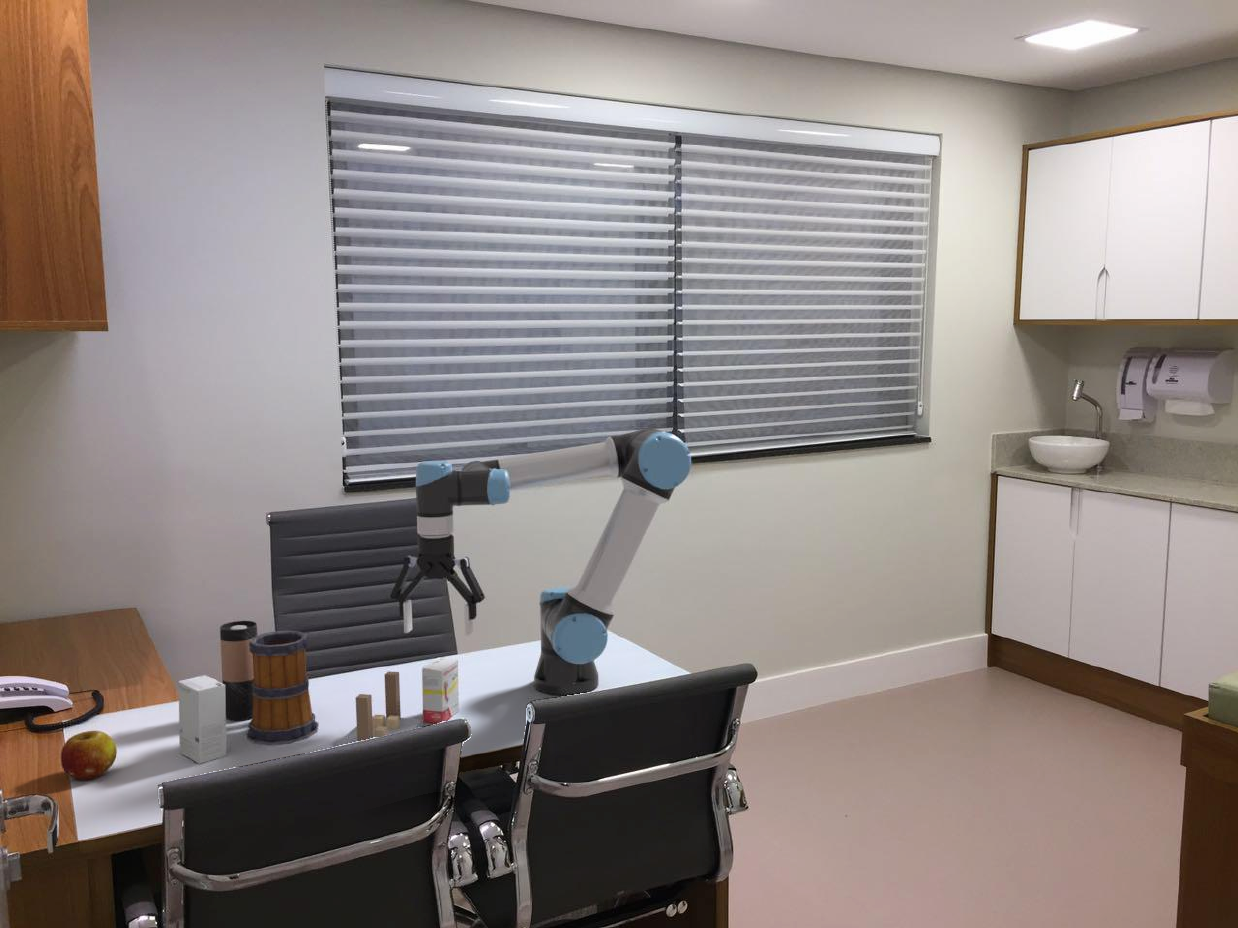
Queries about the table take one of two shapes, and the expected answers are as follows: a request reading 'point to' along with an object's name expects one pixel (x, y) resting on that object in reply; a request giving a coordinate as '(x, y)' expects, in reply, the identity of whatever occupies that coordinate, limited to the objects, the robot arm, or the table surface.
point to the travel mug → (238, 668)
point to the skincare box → (202, 718)
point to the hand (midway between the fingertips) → (438, 632)
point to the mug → (280, 689)
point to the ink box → (440, 690)
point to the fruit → (88, 755)
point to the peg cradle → (379, 723)
